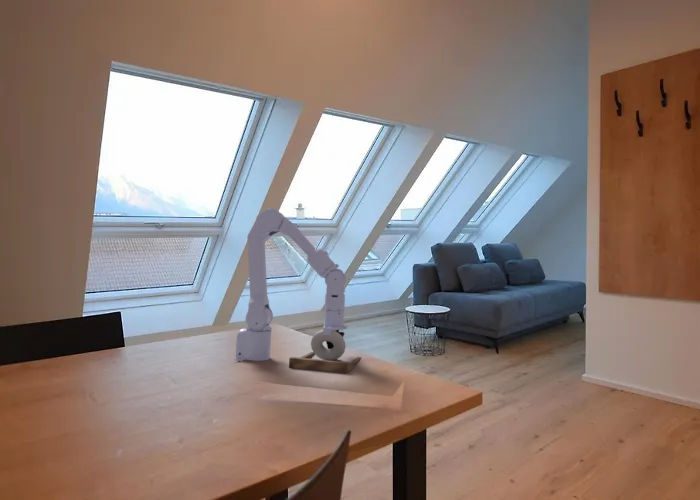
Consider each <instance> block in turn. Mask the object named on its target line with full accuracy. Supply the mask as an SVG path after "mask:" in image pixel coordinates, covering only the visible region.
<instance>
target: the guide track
mask: <svg viewBox="0 0 700 500" xmlns="http://www.w3.org/2000/svg"><path fill="white" fill-rule="evenodd" d="M314 355H315V354H314V352H313V351H311V352H309V353H307V354H305V355H302V356H301V357H295V356H290V357H289V360H288V361H289V362H288V368H291V369H292V368H293V369H299V370H300V369H302V370H311V371H320V372H321V371H322V372H330V373H331V372H332V373H333V372H334V373H342V374H348V373H349V372H350V371H351V370H353V369H354V368H355V366H356V365H357V364H358V363H359V362H360V360H361V359H362V358H363V357H362V356H357V357H356V358H354V359H353V360H351V361H350V362H348V361H347V362H345V361H337V360H333V361H328V360H323V359H318V358H317V359H316V358H315V359H314V358H313V356H314Z"/></svg>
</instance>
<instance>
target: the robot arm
mask: <svg viewBox="0 0 700 500" xmlns="http://www.w3.org/2000/svg"><path fill="white" fill-rule="evenodd" d="M278 233H281V234H282V235H286V236H288V237H289V238H290V239H292V241H293V242H294V243H295V244H296V245H297V246H298V248H300V249H301V250H302V252H303V253H304V254H306V255H307V256H306V257H307V258H306V262H307V263H308V264H309V265H310V266H311V268H312V269H313V270H314V271H315V272H316V274H317V275H318V276H319V277H320V278H323V279H324V282H325V285H326V292H325V296H324V319H323V322H324V323H323V328H322V330H323V335H330V334H331V331H333V330H334V331H336V332H338V333H339V334H340V335H341V336H342V337H343V338H344V335H345V332H344V331H341V330H346V329H348V327H349V326H348V325H345V307H346V306H345V302H346V301H345V300H346V295H345V292H346V290H345V284H346V281H347V280H346V279H347V278H346V275H345V272H344V271H343V270H342V269H340V268H339V266H340V265H339V264H338V263H335V262H334V261H333V259H332V258H330V256H329V253H328V251H327V250H323V248H315V247H314V245H313V244H312V242H310V241H309V239H308V238H307V237H306V236H305V235H304V234H303V233H302V231H301V230H300V229H299V227H297V225H296V224H295V223H293V222H292V221H291V220H289V219H288V218H287V217H286V216H285V215H284V213H281V212H280V211H279V210H277V208H273V207H269V208H268V207H267V208H266V209H264V210H262V211H261V212H260V213H259V214H258V215H257V216H256V218H255V221H254V223H253V225H252V227H251V229H250V230H249V232H248V235H247V254H248V255H247V256H248V259H247V260H248V277H249V280H248V281H249V299H248V304H247V305H248V310H247V312H246V315H245V322H246V325H247V326H246V328H241V329H240V330H239V331H238V332H237V334H236V344H235V345H236V349H235V358H234V361H237V362H243V361H246V360H248V361H257V362H258V361H267V360H270V359H271V350H272V349H271V347H272V327H271V326H270V323H271V322H272V320H273V318H274V317H273V316H274V313H273V311H272V309H271V307H270V301H269V296H268V287H267V286H268V285H267V283H268V282H267V262H266V261H267V260H266V242H267V241H268V240H269V239H270V238H271V237H272V236H274V235H277V234H278ZM325 342H326V346H327V347H326V348H328V349H332V348H333V347H334V345H333V344H332V343H331V342H329V341H325Z"/></svg>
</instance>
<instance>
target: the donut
mask: <svg viewBox="0 0 700 500" xmlns="http://www.w3.org/2000/svg"><path fill="white" fill-rule="evenodd" d="M326 341H329V342H331V343H332V344H333V345H334V347H333V348H332V349H328V347H326V346H325V345H324V344H323V343H325V342H326ZM346 346H347V345H346V342H345V339H344V336H343V337H342V336H341V335H340V334H339V333H338V332H336V331H334V330H333V331H331V334H330V335H323V329H321V330H318V331H317V332H315V333H314V334H313V335H312V337H311V342H310V348H311V350H312V352H314V355H315V356H316V357H317V358H319V359H320V360H328V361H337V360H338V359H340V358H342V356H343V355H344V353H345V351H346Z"/></svg>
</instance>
